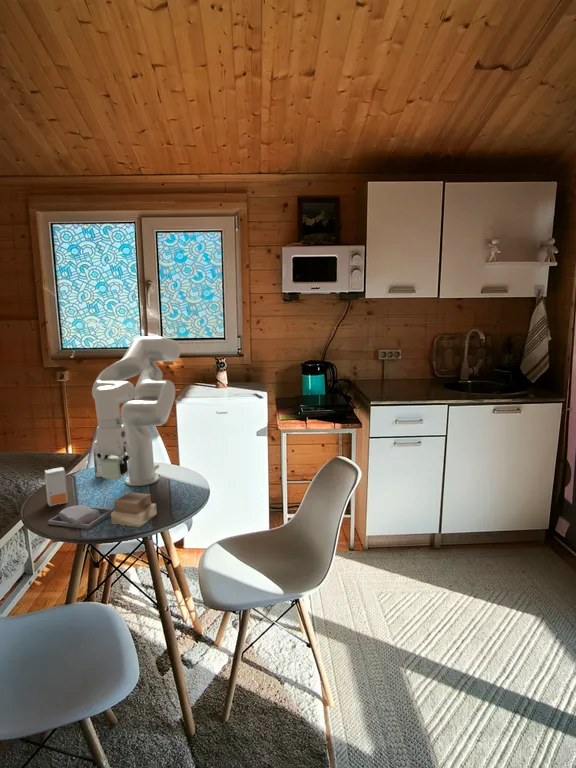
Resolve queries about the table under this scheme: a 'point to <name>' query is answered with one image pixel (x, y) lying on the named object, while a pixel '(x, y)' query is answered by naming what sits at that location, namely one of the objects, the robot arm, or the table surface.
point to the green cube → (112, 468)
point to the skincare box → (56, 486)
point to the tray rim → (84, 526)
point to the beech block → (134, 517)
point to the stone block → (78, 515)
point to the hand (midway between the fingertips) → (115, 471)
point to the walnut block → (132, 503)
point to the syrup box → (97, 463)
